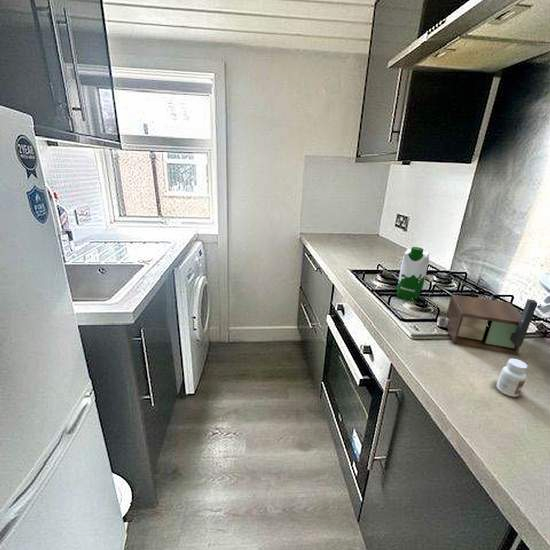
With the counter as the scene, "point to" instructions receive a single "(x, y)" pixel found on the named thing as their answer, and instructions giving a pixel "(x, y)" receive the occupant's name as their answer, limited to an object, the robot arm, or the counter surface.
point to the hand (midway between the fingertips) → (538, 308)
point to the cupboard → (479, 321)
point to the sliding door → (511, 329)
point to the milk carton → (412, 273)
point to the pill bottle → (512, 377)
